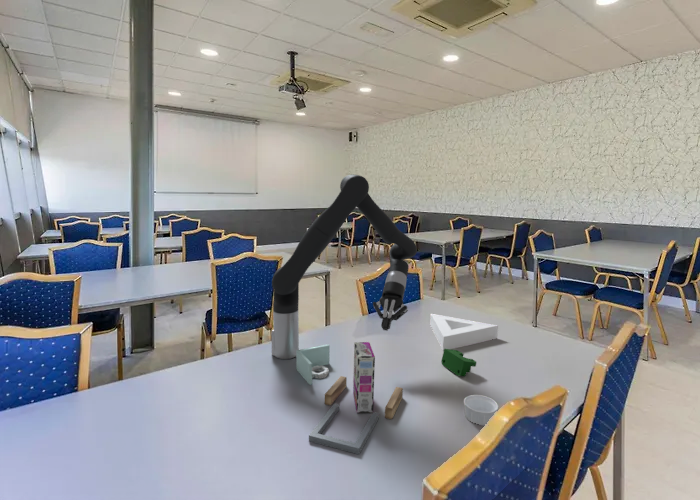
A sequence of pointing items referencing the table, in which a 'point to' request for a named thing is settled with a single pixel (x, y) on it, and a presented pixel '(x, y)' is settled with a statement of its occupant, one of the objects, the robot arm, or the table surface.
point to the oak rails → (341, 384)
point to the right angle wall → (313, 362)
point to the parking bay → (338, 443)
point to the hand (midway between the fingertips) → (385, 329)
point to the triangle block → (460, 331)
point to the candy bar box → (363, 377)
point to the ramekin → (479, 408)
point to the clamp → (457, 362)
